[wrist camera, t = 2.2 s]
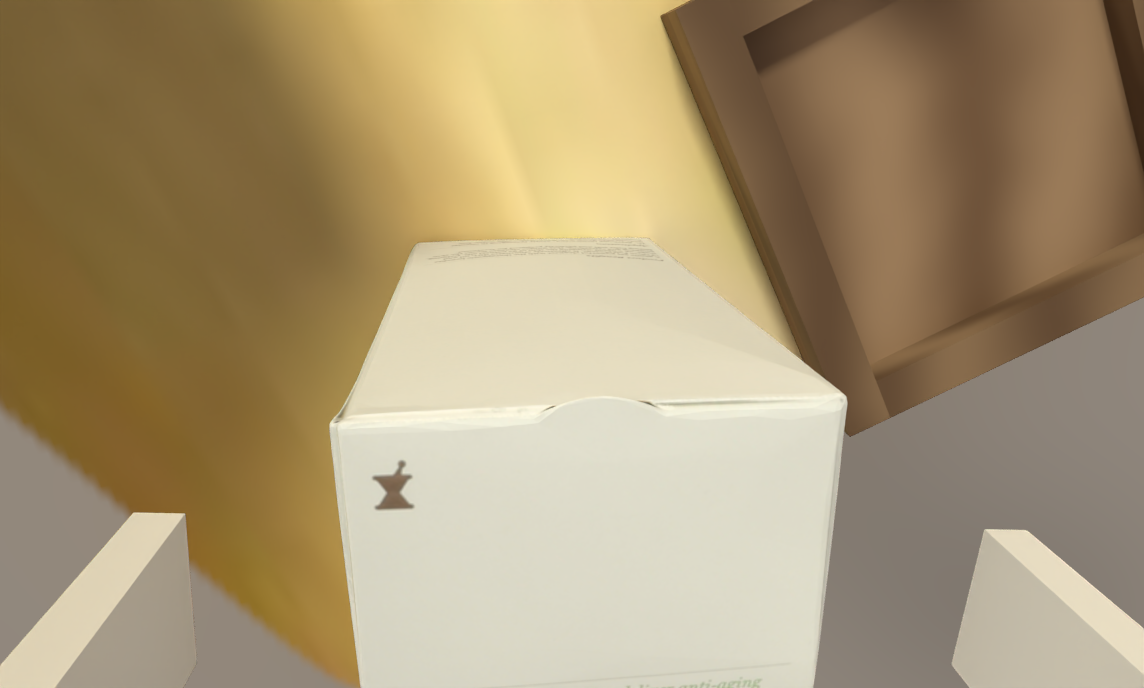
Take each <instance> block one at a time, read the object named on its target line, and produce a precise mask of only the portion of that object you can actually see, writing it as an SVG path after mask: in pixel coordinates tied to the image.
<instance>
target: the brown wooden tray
mask: <svg viewBox="0 0 1144 688" xmlns="http://www.w3.org/2000/svg"><path fill="white" fill-rule="evenodd" d="M661 18H662V21H663V23H664V25H665V28H666V30H667V33H668V35H669V37H670V40H671V42H672V45H673V47H674V49H675V52H676V54H677V57H678V59H679V61H680V64H681V66H682V69H683V71H684V74H685V76H686V78H687V81H688V83H689V86H690V88H691V90H692V93H693V95H694V98H695V100H696V102H697V105H698V107H699V110H700V112H701V114H702V117H703V119H704V122H705V124H706V126H707V129H708V131H709V134H710V136H711V138H712V141H713V143H714V146H715V148H716V151H717V153H718V155H719V158H720V160H721V163H722V165H723V167H724V170H725V172H726V175H727V177H728V179H729V182H730V184H731V187H732V189H733V191H734V194H735V196H736V199H737V201H738V203H739V206H740V208H741V211H742V213H743V215H744V218H745V220H746V223H747V225H748V228H749V230H750V232H751V235H752V237H753V240H754V242H755V244H756V247H757V249H758V252H759V254H760V256H761V259H762V261H763V264H764V266H765V268H766V271H767V273H768V276H769V278H770V280H771V283H772V285H773V288H774V290H775V292H776V295H777V297H778V300H779V302H780V305H781V307H782V309H783V312H784V314H785V317H786V319H787V321H788V324H789V326H790V329H791V331H792V333H793V336H794V338H795V341H796V343H797V345H798V348H799V350H800V353H801V355H802V357H803V360H804V362H805V364H807V365H808V366H809V367H810V368H812V369H813V370H814V371H815V372H817V373H818V374H819V375H820V376H822V377H823V378H824V379H826V380H827V381H828V382H829V383H831V384H832V385H833V386H834V387H836V388H837V389H838V390H840V391H841V392H842V393H843V394H844V395H845V396H846V397H847V403H848V404H847V411H846V419H845V428H844V431H845V432H846V433H847V434H848V435H849V436H850V437H851V436H853V435H855V434H857V433H859V432H861V431H863V430H865V429H868V428H870V427H872V426H874V425H876V424H878V423H880V422H882V421H884V420H886V419H889V418H891V417H893V416H895V415H897V414H899V413H901V412H903V411H905V410H908V409H910V408H912V407H914V406H916V405H918V404H920V403H922V402H924V401H926V400H929V399H931V398H933V397H935V396H937V395H939V394H941V393H943V392H945V391H947V390H950V389H952V388H953V387H956V386H958V385H960V384H962V383H964V382H966V381H969V380H970V379H973V378H975V377H977V376H979V375H981V374H983V373H985V372H988V371H990V370H992V369H994V368H996V367H998V366H1000V365H1002V364H1004V363H1006V362H1008V361H1011V360H1013V359H1015V358H1017V357H1019V356H1021V355H1023V354H1025V353H1027V352H1030V351H1032V350H1034V349H1036V348H1038V347H1040V346H1042V345H1044V344H1046V343H1049V342H1050V341H1053V340H1055V339H1057V338H1059V337H1061V336H1063V335H1065V334H1067V333H1070V332H1072V331H1074V330H1076V329H1078V328H1080V327H1082V326H1084V325H1086V324H1088V323H1091V322H1093V321H1095V320H1097V319H1099V318H1101V317H1103V316H1105V315H1107V314H1110V313H1111V312H1114V311H1116V310H1118V309H1120V308H1122V307H1124V306H1126V305H1128V304H1130V303H1133V302H1135V301H1137V300H1139V299H1141V298H1143V297H1144V0H690V1H688V2H686V3H685V4H683V5H681V6H679V7H677V8H675V9H673V10H671V11H669V12H667V13H665V14H663V15H661Z"/></svg>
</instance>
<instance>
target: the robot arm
mask: <svg viewBox="0 0 1144 688" xmlns="http://www.w3.org/2000/svg"><path fill="white" fill-rule="evenodd" d="M191 592H192V591H191V580H190V566H189V554H188V541H187V529H186V516H185V513H135V512H134V513H133V514H132V515H131V516H130V517H129V518H128V519H127V521H126V522H125V523H124V524H123V525H122V526H121V527H120V529H119V530H118V531H117V532H116V533H115V534H114V536H113V537H112V538H111V539H110V540H109V541H108V542H107V544H106V545H105V546H104V547H103V548H102V549H101V550H100V552H99V553H98V554H97V555H96V556H95V557H94V558H93V560H92V561H91V562H90V563H89V564H88V565H87V566H86V568H85V569H84V570H83V571H82V572H81V573H80V574H79V576H78V577H77V578H76V579H75V580H74V581H73V582H72V584H71V585H70V586H69V587H68V588H67V589H66V590H65V592H64V593H63V594H62V595H61V596H60V597H59V598H58V600H57V601H56V602H55V603H54V604H53V605H52V607H51V608H50V609H49V610H48V611H47V612H46V613H45V615H44V616H43V617H42V618H41V619H40V620H39V621H38V623H37V624H36V625H35V626H34V627H33V628H32V630H31V631H30V632H29V633H28V634H27V635H26V636H25V637H24V638H23V640H22V641H21V642H20V643H19V644H18V645H17V647H16V648H15V649H14V650H13V651H12V652H11V653H10V655H9V656H8V657H7V658H6V659H5V660H4V661H3V663H2V664H1V665H0V688H184V686H185V685H186V682H187V681H188V679H189V677H190V675H191V673H192V671H193V669H194V667H195V666H196V664H197V654H196V641H195V630H194V629H195V628H194V616H193V604H192V593H191ZM952 666H953V667H954V668H955V670H956V671H957V672H958V674H959V675H960V676H961V677H962V678H963V680H964V681H965V682H966V684H967V685H968V686H969V688H1144V629H1143V628H1142V627H1141V626H1140V625H1139V624H1138V623H1136V622H1135V621H1134V620H1133V619H1131V618H1130V617H1129V616H1128V615H1127V614H1126V613H1124V612H1123V611H1122V610H1121V609H1120V608H1118V607H1117V606H1116V605H1115V604H1114V603H1112V602H1111V601H1110V600H1109V599H1108V598H1107V597H1105V596H1104V595H1103V594H1102V593H1101V592H1099V591H1098V590H1097V589H1096V588H1095V587H1094V586H1092V585H1091V584H1090V583H1089V582H1087V581H1086V580H1085V579H1084V578H1083V577H1082V576H1080V575H1079V574H1078V573H1077V572H1076V571H1075V570H1073V569H1072V568H1071V567H1070V566H1069V565H1067V564H1066V563H1065V562H1064V561H1063V560H1061V559H1060V558H1059V557H1058V556H1057V555H1055V554H1054V553H1053V552H1052V551H1051V550H1049V549H1048V548H1047V547H1046V546H1045V545H1044V544H1042V543H1041V542H1040V541H1039V540H1038V539H1036V538H1035V537H1034V536H1033V535H1032V534H1031V533H1029V532H1028V531H1027V530H992V529H985V530H984V533H983V537H982V542H981V546H980V550H979V554H978V558H977V562H976V566H975V570H974V574H973V578H972V583H971V586H970V591H969V595H968V599H967V603H966V608H965V611H964V615H963V619H962V623H961V627H960V632H959V636H958V640H957V644H956V648H955V652H954V656H953V660H952Z"/></svg>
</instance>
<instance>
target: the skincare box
mask: <svg viewBox="0 0 1144 688" xmlns="http://www.w3.org/2000/svg"><path fill="white" fill-rule="evenodd" d="M847 404H848V403H847V397H846V396H845V395H844V394H843V393H842V392H841V391H840V390H838V389H837V388H836V387H834V386H833V385H832V384H831V383H829V382H828V381H827V380H826V379H824V378H823V377H822V376H820V375H819V374H818V373H817V372H815V371H814V370H813V369H812V368H810V367H809V366H808V365H807V364H805V363H804V362H803V361H802V360H800V359H799V358H798V357H797V356H795V355H794V354H793V353H792V352H790V351H789V350H788V349H787V348H785V347H784V346H783V345H782V344H780V343H779V342H778V341H777V340H775V339H774V338H773V337H771V336H770V335H769V334H768V333H766V332H765V331H764V330H763V329H761V328H760V327H759V326H757V325H756V324H755V323H754V322H752V321H751V320H750V319H749V318H747V317H746V316H745V315H744V314H743V313H741V312H740V311H739V310H738V309H736V308H735V307H734V306H733V305H731V304H730V303H729V302H727V301H726V300H725V299H724V298H722V297H721V296H720V295H719V294H717V293H716V292H715V291H714V290H712V289H711V288H710V287H709V286H707V285H706V284H705V283H704V282H702V281H701V280H700V279H699V278H697V277H696V276H695V275H694V274H692V273H691V272H690V271H689V270H687V269H686V268H685V267H683V266H682V265H681V264H680V263H679V262H678V261H676V260H675V259H674V258H673V257H671V256H670V255H669V254H667V253H666V252H665V251H664V250H663V249H661V248H660V247H659V246H658V245H656V244H655V243H654V242H653V241H652V240H651V239H649V238H559V239H506V240H464V241H441V242H422V243H417V244H416V245H415V246H414V247H413V249H412V251H411V253H410V255H409V258H408V260H407V263H406V266H405V268H404V271H403V273H402V276H401V278H400V281H399V283H398V285H397V287H396V289H395V292H394V294H393V296H392V299H391V301H390V304H389V306H388V308H387V311H386V313H385V315H384V318H383V320H382V322H381V325H380V327H379V329H378V332H377V334H376V336H375V338H374V341H373V343H372V345H371V348H370V350H369V352H368V354H367V357H366V359H365V361H364V364H363V366H362V369H361V371H360V373H359V376H358V378H357V380H356V382H355V384H354V386H353V388H352V390H351V392H350V394H349V396H348V398H347V400H346V402H345V404H344V405H343V407H342V409H341V410H340V412H339V413H338V414H337V415H336V416H335V417H334V418H333V420H332V421H331V422H330V427H329V431H330V439H331V448H332V456H333V465H334V475H335V484H336V493H337V502H338V510H339V519H340V527H341V535H342V544H343V552H344V560H345V568H346V576H347V584H348V592H349V600H350V608H351V616H352V624H353V631H354V639H355V647H356V655H357V663H358V671H359V679H360V687H361V688H813V686H814V679H815V672H816V665H817V658H818V651H819V642H820V634H821V626H822V618H823V609H824V600H825V593H826V585H827V576H828V568H829V559H830V551H831V543H832V533H833V525H834V516H835V508H836V498H837V490H838V481H839V472H840V464H841V455H842V445H843V437H844V428H845V419H846V411H847Z"/></svg>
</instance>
